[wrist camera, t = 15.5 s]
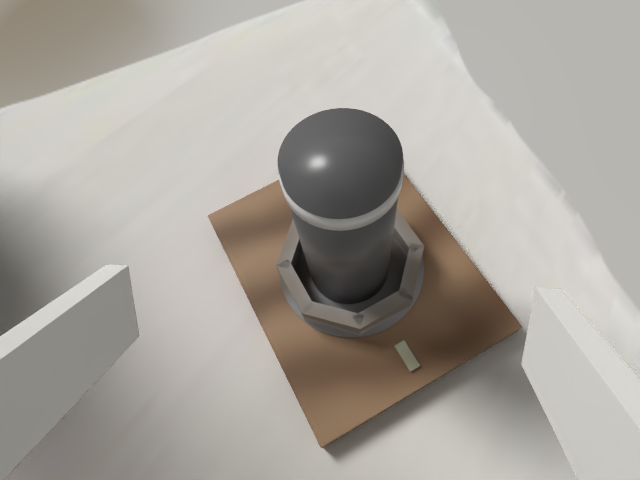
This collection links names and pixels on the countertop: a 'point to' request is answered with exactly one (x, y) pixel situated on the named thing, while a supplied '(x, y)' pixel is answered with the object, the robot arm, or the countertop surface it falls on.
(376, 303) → the mount board
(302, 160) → the dome-topped grey cylinder
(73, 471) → the countertop surface
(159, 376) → the countertop surface
